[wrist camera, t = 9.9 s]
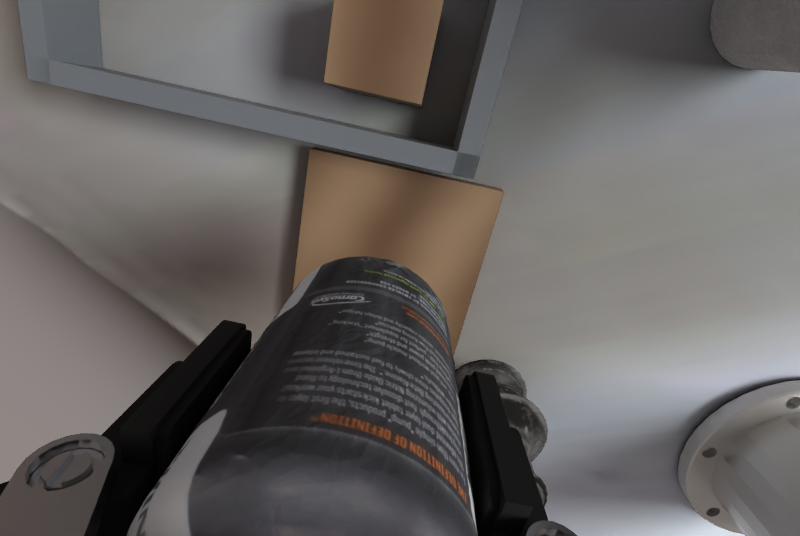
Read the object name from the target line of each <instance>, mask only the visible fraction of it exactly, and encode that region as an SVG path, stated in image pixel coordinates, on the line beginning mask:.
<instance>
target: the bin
mask: <svg viewBox="0 0 800 536" xmlns="http://www.w3.org/2000/svg"><path fill="white" fill-rule="evenodd" d="M17 1H18V8H19V16H20V23H21V31H22V38H23V46H24V53H25V61H26V68H27V76H28V79H29V80H33V81H38V82H42V83H46V84H51V85H55V86H60V87H64V88H69V89H73V90H78V91H82V92H87V93H91V94H96V95H100V96H105V97H109V98H113V99H118V100H122V101H127V102H131V103H136V104H140V105H145V106H149V107H154V108H158V109H163V110H167V111H172V112H176V113H180V114H185V115H189V116H194V117H198V118H203V119H207V120H212V121H216V122H221V123H225V124H230V125H234V126H239V127H243V128H247V129H252V130H256V131H261V132H265V133H270V134H274V135H279V136H283V137H288V138H292V139H297V140H301V141H306V142H310V143H314V144H319V145H323V146H328V147H332V148H337V149H341V150H346V151H350V152H355V153H359V154H364V155H368V156H373V157H377V158H381V159H386V160H390V161H395V162H399V163H404V164H408V165H413V166H417V167H422V168H426V169H431V170H435V171H440V172H444V173H448V174H453V175H457V176H462V177H466V178H471V179H474V176H475V173H476V169H477V166H478V162H479V158H480V155H481V151H482V148H483V144H484V140H485V137H486V133H487V130H488V126H489V122H490V119H491V115H492V112H493V108H494V104H495V101H496V97H497V94H498V90H499V86H500V83H501V79H502V76H503V72H504V68H505V65H506V61H507V58H508V54H509V51H510V47H511V43H512V40H513V36H514V33H515V29H516V25H517V22H518V18H519V15H520V11H521V7H522V4H523V0H489V4H488V8H487V12H486V16H485V20H484V24H483V28H482V32H481V36H480V40H479V44H478V48H477V52H476V56H475V60H474V64H473V68H472V72H471V76H470V80H469V84H468V88H467V92H466V96H465V100H464V104H463V108H462V112H461V116H460V120H459V124H458V128H457V132H456V136H455V140H454V144H453V147H449V146H445V145H441V144H436V143H432V142H427V141H423V140H418V139H414V138H410V137H405V136H401V135H396V134H392V133H387V132H383V131H379V130H374V129H370V128H365V127H361V126H356V125H352V124H348V123H343V122H339V121H334V120H330V119H325V118H321V117H317V116H312V115H308V114H303V113H299V112H294V111H290V110H286V109H281V108H277V107H272V106H268V105H263V104H259V103H255V102H250V101H246V100H241V99H237V98H232V97H228V96H224V95H219V94H215V93H210V92H206V91H201V90H197V89H193V88H188V87H184V86H179V85H175V84H170V83H166V82H162V81H157V80H153V79H148V78H144V77H139V76H135V75H131V74H126V73H122V72H117V71H113V70H109V69H104V68H103V67H102V52H101V38H100V23H99V8H98V0H17Z"/></svg>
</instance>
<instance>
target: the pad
mask: <svg viewBox="0 0 800 536" xmlns="http://www.w3.org/2000/svg"><path fill="white" fill-rule="evenodd" d="M503 195H504V191H503V190H502V189H500V188H495V187H491V186H486V185H482V184H477V183H473V182H468V181H464V180H460V179H455V178H451V177H446V176H442V175H437V174H433V173H428V172H424V171H419V170H415V169H410V168H406V167H401V166H397V165H392V164H388V163H383V162H379V161H375V160H370V159H366V158H361V157H357V156H352V155H348V154H343V153H339V152H334V151H330V150H325V149H321V148H316V147H314V148H310V150H309V159H308V167H307V175H306V184H305V192H304V201H303V209H302V218H301V226H300V234H299V243H298V251H297V260H296V268H295V277H294V285H293V291H294V289H295V288H296V287H297V285H298V284H299V283H300V282H301V281H302V280H303V279H304V278H305V277H306V276H307V275H308V274H310V273H311V272H312V271H314V270H315V269H317V268H318V267H320V266H322V265H324V264H325V263H328V262H331V261H334V260H337V259H342V258H347V257H359V256H368V257H375V258H379V259H388V260H391V261H394V262H396V263H398V264H400V265H402V266H404V267H406V268H408V269H410V270H411V271H413V272H414V273H416V274H417V275H418V276H420V277H421V278H422V279H423V280H424V281H426V282H427V283H428V285H429V286H430V287H431V288H432V290H433V291H434V292H435V294H436V295H437V297H438V298H439V300H440V301H441V303H442V305H443V308H444V310H445V314H446V317H447V322H448V327H449V333H450V339H451V345H452V353H453V356H454V352H455V349H456V346H457V343H458V339H459V336H460V333H461V330H462V327H463V323H464V320H465V317H466V314H467V311H468V307H469V304H470V301H471V298H472V294H473V291H474V288H475V285H476V282H477V278H478V275H479V272H480V269H481V266H482V262H483V259H484V256H485V253H486V249H487V246H488V243H489V240H490V237H491V233H492V230H493V227H494V224H495V221H496V217H497V214H498V211H499V208H500V204H501V201H502V198H503Z"/></svg>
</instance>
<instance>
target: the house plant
mask: <svg viewBox="0 0 800 536" xmlns="http://www.w3.org/2000/svg"><path fill="white" fill-rule="evenodd" d="M710 30H711V35H712V39H713V43H714V45H715V47H716V48H717V50H718V52H719V53H720V55H721V56H722V57H723V58H724V59H726V60H727V61H728V62H729V63H731V64H732V65H735V66H738V67H741V68H744V69H755V70H770V71H785V72H800V0H714V2H713V5H712V9H711V19H710Z"/></svg>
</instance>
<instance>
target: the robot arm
mask: <svg viewBox="0 0 800 536" xmlns="http://www.w3.org/2000/svg"><path fill="white" fill-rule="evenodd" d="M251 337H252V333H251V331H250V330H246V325H245V324H242V323H237V322H232V321H227V320H223V321H222V322H221V323H220V324H219V325H218V326H217V327H216V328H215V329H214V330H213V331H212V332H211V333H210V334H209V335H208V336H207V337H206V338H205V340H204V341H203V342H202V343H201V344H200V345H199V346H198V347H197V348H196V349H195V350H194V351H193V352H192V353H191V354H190V355H189V356H188V357H187V358H186V359H185V360H184V361H177V362H175V363H174V364H172V365H171V366H170V367H169V368H168V369H167V370H166V371H165V372H164V373H163V374H162V375H161V376H160V377H159V378H158V379H157V380H156V381H155V382H154V383H153V384H152V385H151V386H150V387H149V388H148V389H147V390H146V391H145V392H144V393H143V394H142V395H141V396H140V397H139V398H138V399H137V400H136V401H135V402H134V403H133V404H132V405H131V406H130V407H129V408H128V409H127V410H126V411H125V412H124V413H123V414H122V415H121V416H120V417H119V418H118V419H117V420H116V421H115V422H114V423H113V424H112V425H111V426H110V427H109V428H108V429H107V430H106V431H105V432H104V433H103V434H102V435H98V434H84V433H83V434H76V435H70V436H66V437H63V438H60V439H58V440H55V441H52V442H50V443H48V444H46V445H44V446H42V447H41V448H39V449H37V450H36V451H35V452H33V453H32V454H31V455H30V456H28V457H27V458H26V459H25V460H24V461H23V462H22V464H21V465H20V466H19V467H18V468H17V470H16V471H15V473H14V475H13V476H12V478H11V479H10V481H8V482H5V483H2V484H0V536H127V533H128V530H129V528H130V526H131V524H132V522H133V520H134V518H135V516H136V514H137V513H138V511H139V509H140V508H141V506H142V504H143V502H144V501H145V499H146V498H147V496H148V495H149V494H150V492H151V491H152V489H153V488H154V487H155V485H156V484H157V482H158V481H159V479H160V478H161V477H162V475H163V474H164V473H165V471H166V470H167V468H168V467H169V465H170V464H171V462H172V461H173V460H174V458H175V457H176V455H177V454H178V452H179V451H180V450H181V448H182V447H183V445H184V444H185V443H186V441H187V439H188V438H189V437H190V435H191V433H192V431H193V430H194V428H195V426H196V425H197V424H198V423H199V422H200V420H201V419H202V418H203V417H204V415H205V414H206V413H207V411H208V410H209V408H210V407H211V405H212V404H213V402H214V400H215V399H216V398H217V396H218V395H219V393H220V392H221V391H222V390H223V389H224V387H225V386H226V384H227V383H228V381H229V380H230V379H231V377H232V376H233V375H234V374H235V372H236V370H237V369H238V368H239V366H240V365H241V363H242V362H243V360H244V359H245V357H246V356H247V355H248V353H249V352H250V350H251ZM459 399H460V406H461V412H462V419H463V424H464V431H465V437H466V444H467V450H468V457H469V462H470V477H471V484H472V491H473V500H474V510H475V519H476V528H477V534H478V536H577V535H576V534H575V533H574V532H572V531H571V530H569V529H568V528H566V527H565V526H563V525H560V524H558V523H555V522H553V521H548V518H547V515H546V512H545V509H544V506H543V503H542V500H541V497H540V494H539V490H538V487H537V484H536V481H535V478H534V475H533V472H532V469H531V466H530V463H529V460H528V456H527V453H526V450H525V447H524V444H523V441H522V438H521V435H520V433H519V431H518V430H517V429H516V428H514V427H510V426H509V423H508V419H507V416H506V413H505V409H504V406H503V403H502V399H501V396H500V392H499V389H498V386H497V382H496V379H495V376H494V375H491V374H486V373H481V372H477V371H474V372H473V373H472V375H471V376H470V375H466V376H465V378H464V380H463V383H462V386H461V389H460V392H459ZM678 475H679V483H680V485H681V488H682V490H683V493H684V494H685V496H686V497H687V499H688V500H689V501H690V503H691V504H692V506H693V507H694V509H695V510H696V511H697V512H698V513H699V514H700V515H701V516H702V517H703V518H704V519H706V520H708V521H709V522H711V523H712V524H714V525H716V526H718V527H721V528H723V529H726V530H729V531H732V532H736V533H741V534H744V535H745V536H800V380H797V381H787V382H782V383H778V384H773V385H769V386H765V387H762V388H759V389H757V390H754V391H751V392H749V393H746V394H743V395H741V396H740V397H738V398H736V399H734V400H732V401H730V402H728V403H726V404H725V405H723V406H722V407H721V408H719V409H718V410H716V411H715V412H714V413H712V414H711V415H710V416H708V417H707V418H706V419H705V420H704V421H703V422H702V423H701V424H700V425H699V426H698V427H697V428H696V430H695V431H694V432H693V434H692V435H691V437H690V438H689V439H688V441H687V442H686V444H685V447H684V449H683V451H682V454H681V456H680V461H679V466H678Z"/></svg>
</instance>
